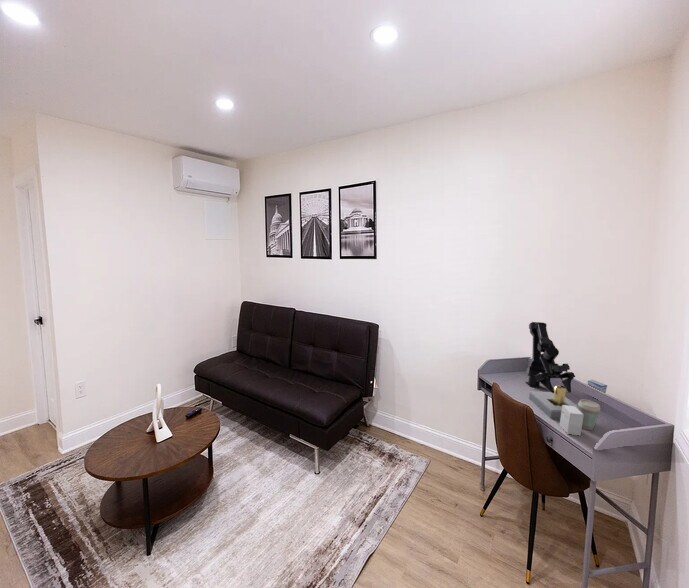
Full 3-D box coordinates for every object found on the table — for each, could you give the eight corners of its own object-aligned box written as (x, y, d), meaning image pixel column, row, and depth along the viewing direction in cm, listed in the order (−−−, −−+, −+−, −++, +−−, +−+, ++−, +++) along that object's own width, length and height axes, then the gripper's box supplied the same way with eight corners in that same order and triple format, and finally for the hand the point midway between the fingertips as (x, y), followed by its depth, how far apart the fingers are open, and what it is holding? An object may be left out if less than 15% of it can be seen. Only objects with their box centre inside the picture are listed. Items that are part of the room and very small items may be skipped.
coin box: (529, 398, 180) (530, 391, 179) (558, 399, 179) (559, 392, 179) (550, 418, 160) (551, 409, 159) (583, 419, 160) (584, 411, 159)
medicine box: (584, 394, 187) (587, 380, 186) (589, 393, 189) (592, 379, 187) (600, 400, 180) (602, 386, 179) (604, 399, 182) (607, 384, 180)
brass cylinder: (550, 407, 171) (553, 384, 169) (561, 409, 169) (564, 386, 167) (552, 411, 166) (555, 388, 164) (563, 414, 165) (567, 390, 162)
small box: (580, 436, 146) (584, 414, 144) (566, 434, 147) (570, 413, 145) (572, 426, 153) (575, 405, 152) (559, 424, 155) (562, 404, 153)
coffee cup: (587, 421, 158) (591, 398, 156) (601, 431, 150) (606, 407, 148) (570, 421, 158) (574, 398, 156) (583, 431, 149) (587, 407, 147)
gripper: (541, 357, 166) (554, 387, 157) (575, 357, 168) (589, 387, 159) (529, 366, 175) (541, 395, 166) (561, 365, 177) (574, 394, 168)
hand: (561, 392), depth 165 cm, fingers open, 9 cm apart
